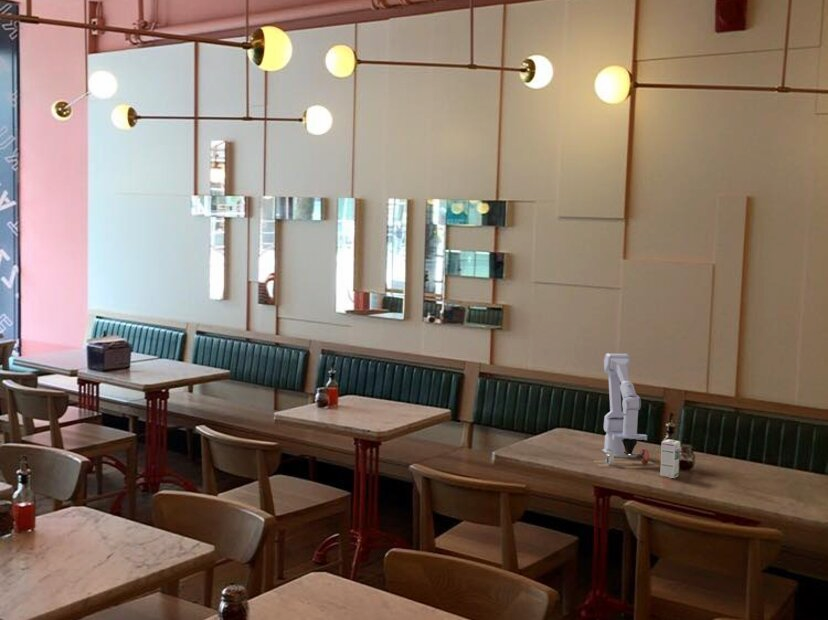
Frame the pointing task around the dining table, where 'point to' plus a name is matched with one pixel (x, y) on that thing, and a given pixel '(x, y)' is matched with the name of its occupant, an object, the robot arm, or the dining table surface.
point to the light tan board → (626, 464)
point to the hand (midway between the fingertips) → (628, 456)
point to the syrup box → (670, 458)
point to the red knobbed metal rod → (635, 456)
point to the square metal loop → (610, 458)
